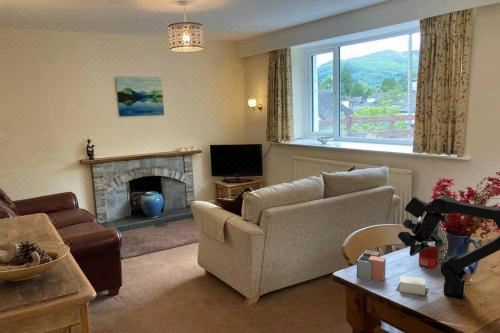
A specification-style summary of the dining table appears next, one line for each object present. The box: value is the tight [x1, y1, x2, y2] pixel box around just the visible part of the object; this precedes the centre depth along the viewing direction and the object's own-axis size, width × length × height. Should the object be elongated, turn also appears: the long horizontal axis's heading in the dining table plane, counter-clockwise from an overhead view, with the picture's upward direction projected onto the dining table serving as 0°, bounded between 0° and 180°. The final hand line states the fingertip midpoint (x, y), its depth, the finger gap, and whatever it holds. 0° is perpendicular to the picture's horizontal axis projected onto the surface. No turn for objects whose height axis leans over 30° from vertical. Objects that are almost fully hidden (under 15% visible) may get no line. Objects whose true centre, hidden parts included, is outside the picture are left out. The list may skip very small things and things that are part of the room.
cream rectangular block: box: [399, 275, 426, 295], centre depth 158 cm, size 9×6×4 cm, turn 68°
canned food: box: [418, 241, 439, 270], centre depth 180 cm, size 8×8×11 cm
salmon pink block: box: [368, 256, 387, 282], centre depth 169 cm, size 6×4×9 cm, turn 58°
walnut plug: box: [362, 249, 381, 257], centre depth 175 cm, size 6×4×9 cm, turn 58°
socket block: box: [356, 250, 372, 281], centre depth 174 cm, size 6×11×8 cm, turn 148°
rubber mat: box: [395, 282, 430, 299], centre depth 159 cm, size 11×8×1 cm
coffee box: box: [436, 223, 447, 260], centre depth 191 cm, size 9×6×16 cm
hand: (410, 255), depth 163 cm, fingers closed
